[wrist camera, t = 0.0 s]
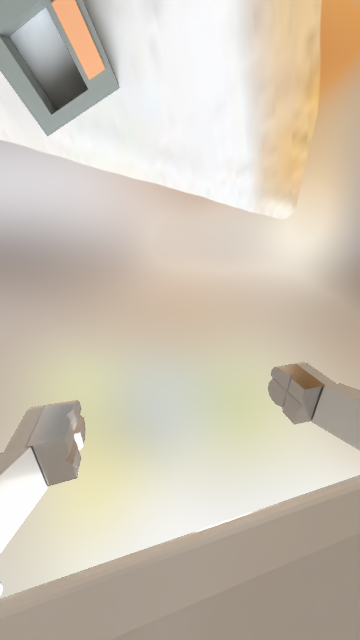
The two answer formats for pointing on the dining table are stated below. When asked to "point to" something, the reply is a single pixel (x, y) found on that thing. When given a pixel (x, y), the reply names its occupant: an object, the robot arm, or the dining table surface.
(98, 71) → the socket board
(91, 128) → the dining table surface
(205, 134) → the dining table surface
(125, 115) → the dining table surface
